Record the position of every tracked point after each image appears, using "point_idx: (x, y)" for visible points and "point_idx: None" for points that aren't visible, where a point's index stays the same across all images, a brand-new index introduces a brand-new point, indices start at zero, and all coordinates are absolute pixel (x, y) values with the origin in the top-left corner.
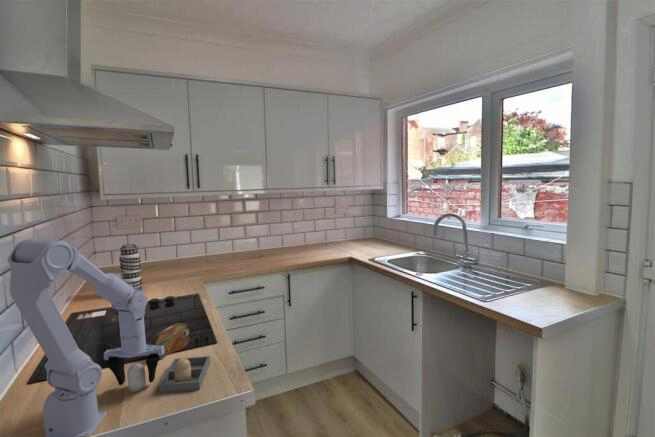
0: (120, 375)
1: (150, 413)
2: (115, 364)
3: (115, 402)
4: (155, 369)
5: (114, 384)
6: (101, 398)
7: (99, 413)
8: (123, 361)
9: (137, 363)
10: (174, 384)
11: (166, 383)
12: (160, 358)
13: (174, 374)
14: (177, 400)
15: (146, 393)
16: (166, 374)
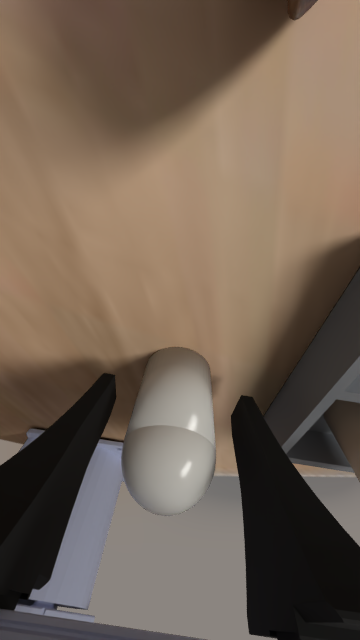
0: (93, 441)
1: (236, 464)
2: (45, 581)
3: (129, 412)
4: (273, 442)
5: (60, 314)
6: (70, 384)
7: (112, 448)
8: (47, 490)
9: (171, 505)
10: (327, 466)
11: (300, 459)
12: (315, 2)
13: (355, 471)
14: None
15: (216, 404)
16: (315, 416)
